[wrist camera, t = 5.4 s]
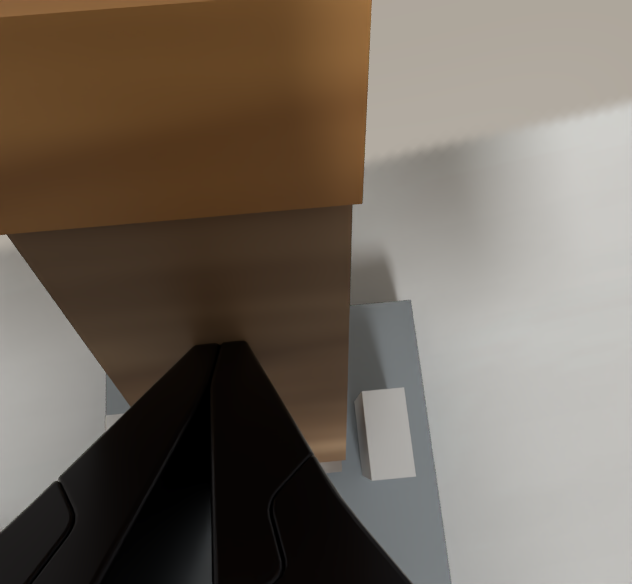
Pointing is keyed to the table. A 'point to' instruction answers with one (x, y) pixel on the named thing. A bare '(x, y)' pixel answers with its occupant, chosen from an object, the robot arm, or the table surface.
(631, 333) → the table surface
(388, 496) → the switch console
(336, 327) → the orange capped lever
